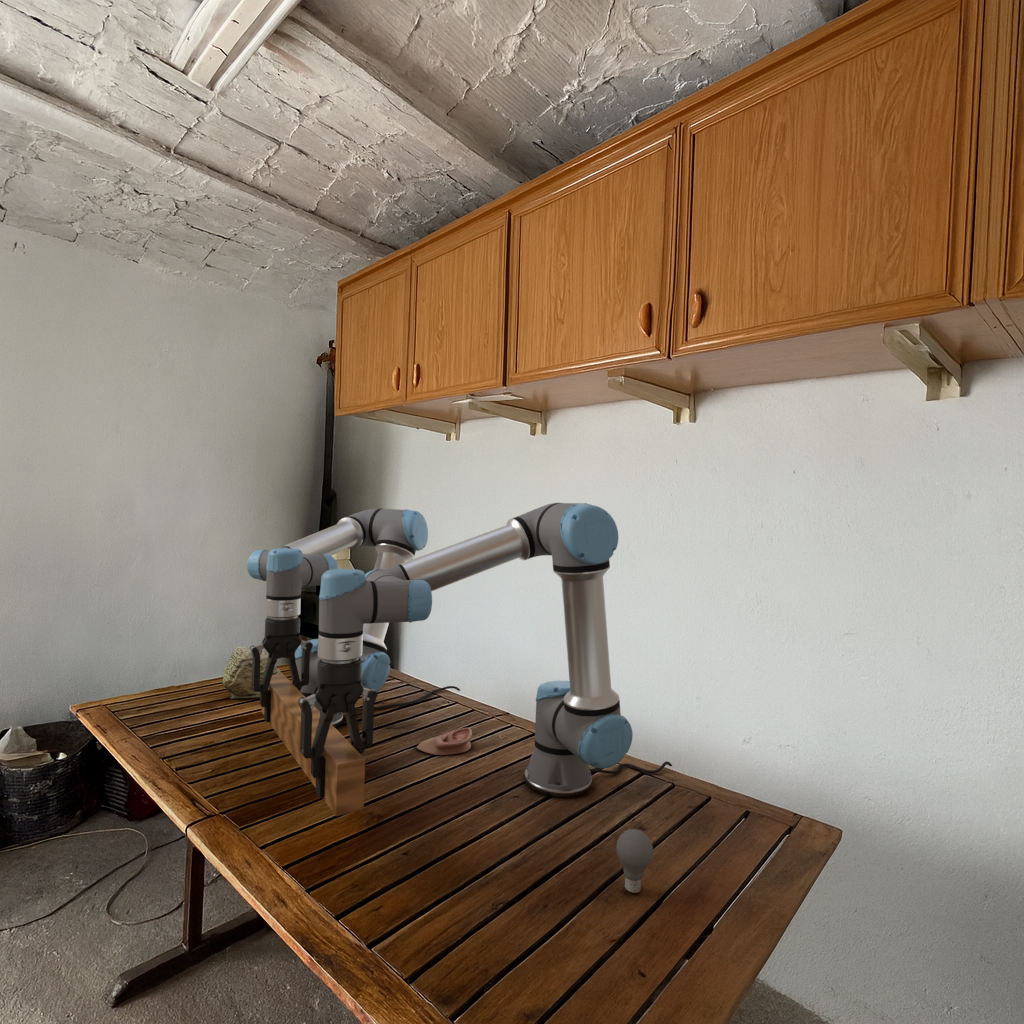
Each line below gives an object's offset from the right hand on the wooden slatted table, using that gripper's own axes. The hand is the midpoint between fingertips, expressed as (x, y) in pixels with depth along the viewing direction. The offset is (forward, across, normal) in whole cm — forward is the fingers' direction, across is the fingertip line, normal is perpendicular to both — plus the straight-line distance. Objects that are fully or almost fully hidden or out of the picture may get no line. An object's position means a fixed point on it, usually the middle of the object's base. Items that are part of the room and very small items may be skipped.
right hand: (335, 790), depth 111 cm
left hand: (0, 0, +40) cm, 41 cm away
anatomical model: (+13, +40, +36) cm, 55 cm away
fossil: (+12, +7, +100) cm, 101 cm away
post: (+1, 0, +20) cm, 20 cm away
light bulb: (+13, +40, -33) cm, 53 cm away
